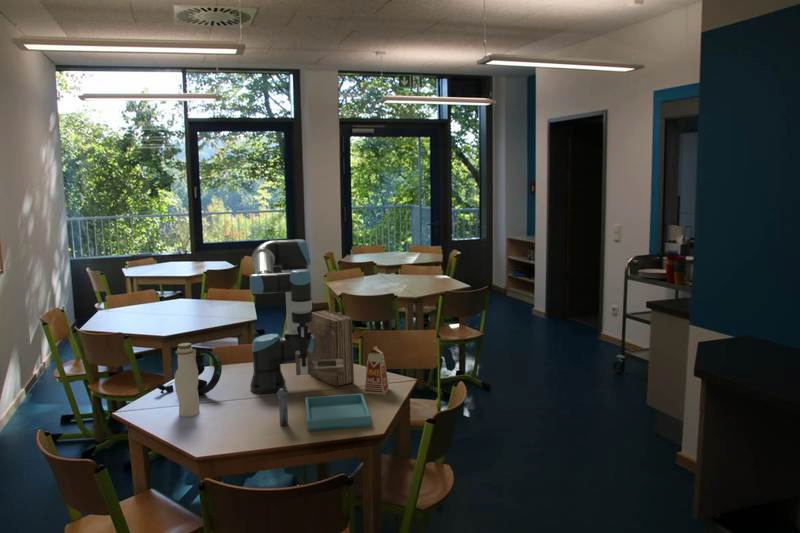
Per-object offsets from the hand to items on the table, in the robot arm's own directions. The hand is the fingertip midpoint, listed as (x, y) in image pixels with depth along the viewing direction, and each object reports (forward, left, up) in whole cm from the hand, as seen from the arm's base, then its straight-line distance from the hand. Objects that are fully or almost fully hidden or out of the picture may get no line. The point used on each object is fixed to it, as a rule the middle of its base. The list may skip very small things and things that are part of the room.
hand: (304, 372), depth 250 cm
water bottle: (-18, -45, -19) cm, 52 cm away
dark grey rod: (+3, -8, -19) cm, 21 cm away
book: (-49, +13, -19) cm, 54 cm away
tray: (-1, +12, -19) cm, 22 cm away
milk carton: (-28, +31, -19) cm, 46 cm away
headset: (-42, -48, -19) cm, 66 cm away
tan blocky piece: (0, +6, 0) cm, 6 cm away
